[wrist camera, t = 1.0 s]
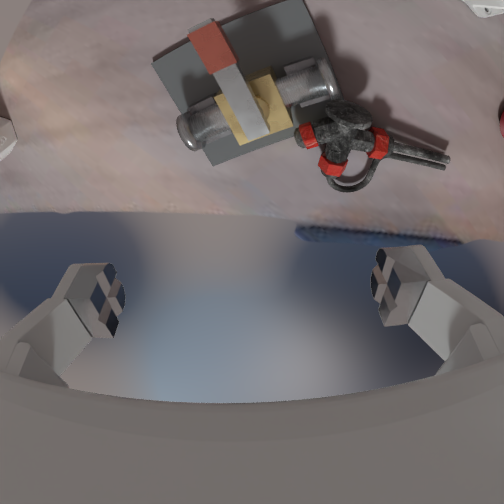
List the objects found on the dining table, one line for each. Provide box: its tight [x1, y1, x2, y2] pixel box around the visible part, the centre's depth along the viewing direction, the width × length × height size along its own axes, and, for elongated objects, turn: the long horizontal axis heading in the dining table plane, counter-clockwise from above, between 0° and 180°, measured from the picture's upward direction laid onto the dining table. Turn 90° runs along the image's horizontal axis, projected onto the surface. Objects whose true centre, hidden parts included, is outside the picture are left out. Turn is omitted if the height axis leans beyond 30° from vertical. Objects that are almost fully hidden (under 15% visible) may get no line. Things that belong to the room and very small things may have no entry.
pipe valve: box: [176, 56, 340, 151], centre depth 34 cm, size 20×7×8 cm, turn 115°
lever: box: [187, 18, 270, 141], centre depth 27 cm, size 14×3×3 cm, turn 25°
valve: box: [294, 100, 450, 192], centre depth 40 cm, size 6×26×15 cm
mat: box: [151, 0, 344, 166], centre depth 36 cm, size 22×19×1 cm
